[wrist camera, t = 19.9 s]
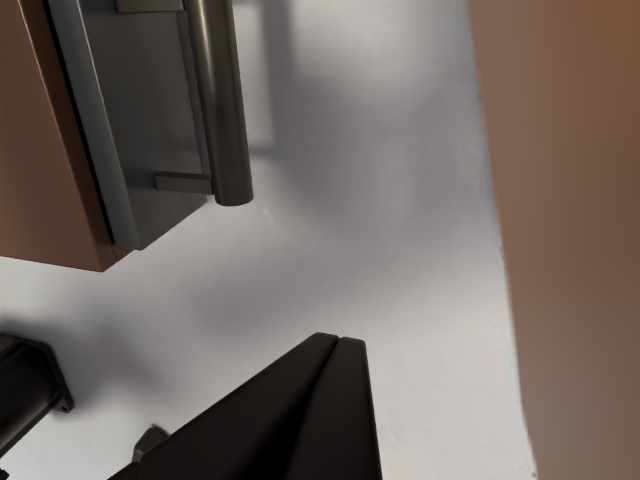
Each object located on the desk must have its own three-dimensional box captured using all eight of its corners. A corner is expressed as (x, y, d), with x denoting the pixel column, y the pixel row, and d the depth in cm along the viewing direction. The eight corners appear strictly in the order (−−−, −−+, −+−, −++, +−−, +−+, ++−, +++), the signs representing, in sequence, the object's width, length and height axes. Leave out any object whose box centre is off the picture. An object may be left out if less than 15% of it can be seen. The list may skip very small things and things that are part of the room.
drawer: (264, -78, 15) (182, -104, 11) (286, 210, 20) (235, 264, 16) (-98, -42, 20) (-244, -52, 16) (-9, 181, 25) (-105, 216, 21)
